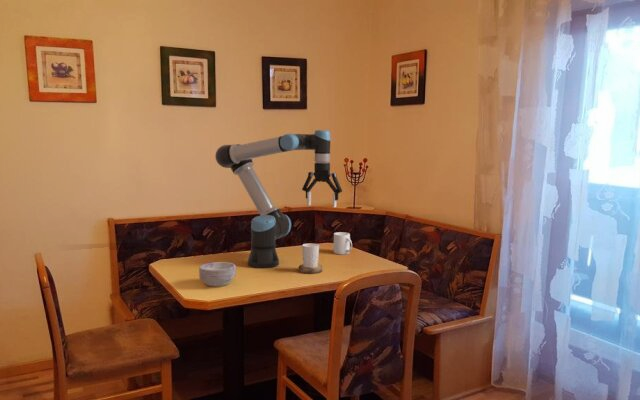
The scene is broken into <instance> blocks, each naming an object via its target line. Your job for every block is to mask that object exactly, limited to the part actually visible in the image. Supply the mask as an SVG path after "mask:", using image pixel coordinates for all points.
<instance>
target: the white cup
mask: <svg viewBox="0 0 640 400" xmlns="http://www.w3.org/2000/svg"><path fill="white" fill-rule="evenodd" d="M301 248H302V249H301V250H302V252H301V253H302V263H303V266H304V267H307V268H314V267H317V266H318V265H319V264H318V263H319V256H320V255H319V254H320V252H319V251H320V244H318V243H303V244H302V246H301Z"/></svg>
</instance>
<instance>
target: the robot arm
mask: <svg viewBox="0 0 640 400" xmlns="http://www.w3.org/2000/svg"><path fill="white" fill-rule="evenodd" d="M331 141H332V139H331V131H330V130H327V129H326V130H325V129H322V130H320V129H319V130H318V129H317V130H316V129H315V130H314V133H312V134H311V133H310V134H309V133H308V134H305V133H286V134H283V135H281V136H280V135H279V136H274V137H270V138H268V139H266V138H265V139H263V140H262V139H261V140H257V141H252V142H248V143H244V144H243V143H242V144H240V143H239V144H235V143H233V144H224V145H221V146H219V147H218V148H217V150H216V152H215V162H216V163H217V164H218V165H219V166H220V167H222V168H225V169H231V171H232V173H233V175H236V176H238V178H239V180H240V182H241V183H242V184H243V185H242V186H244V189H245V190H246V192H247V194H248V196H249V197H250V199H251V201H252V202H253V205H254V206H255V207H256V209H257V212H258V213H259V215H257V216H254V218H252V219H251V222H250V223H251V224H250V229H251V230H250V235H251V237H250V238H251V248H250V249H251V250H250V252H249V256H248V259H247V266H249V267H250V268H257V269H267V268H274V267H275V268H276V267H277V266H279V265H280V258H279V256H278V253H277V250H276V240H278V239H282V238H284V237H285V236H287V235H288V234H289V233H290V231H291V229H292V221H291V218H290V217H289V216H288V215H287V214H284V213H283V212H282V211H281V209H280V208H279V207H276V206H275V204H274V202H273V200H272V199H271V197H270V196H269V194H268V192H267V190H266V189H265V186H264V185H263V183H262V181H261V179H260V178H259V176H258V174H257V173H256V171H255V169H254V165H255V164H254V161H253V159H256V158H262V157H266V156H270V155H271V156H272V155H275V154H280V153H286V152H287V153H288V152H292V151H305V150H307V151H311V150H312V151H314V159H313V160H314V162H315V163H314V164H313V165H314V169H313V170H314V172H313V171H309V172H307V174H308V175H307V178H306V180H305V182H304V184H303V187H302V188H301V190H302V191H303V192H305V199H306V201H307V202H306V203H307V205H306V206H312V191H311V190H312V189H313V188H314V186H315V185H316V184H317V183H318V182H319V183H322V182H323V183H326V184H327V185H328V186H329V188H330V189H331V190H332V191H333V194H332V207H333V208H336V207H337V201H338V200H339V194H340V193H342V192H343V189H342V187H341V185H340V182H339V180H338V178H337V173H336V172H332V173H331V163H330V162H331ZM313 177H314V179H312V178H313ZM330 177H331V178H332V180H333V182H332V180H331V179H330ZM311 180H312V182H311Z"/></svg>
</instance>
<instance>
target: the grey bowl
mask: <svg viewBox="0 0 640 400" xmlns="http://www.w3.org/2000/svg"><path fill="white" fill-rule="evenodd" d="M198 270H199V271H198V276H199V279H200V280H202V281H203V282H204V284H205V285H206V286H208V287H209V286H210V287H224V285H225V286H228V285H229V284H230V283H231V281H232V279H234V278H236V275H237V271H236V270H237V269H236V264H235V263H232V262H229V261H217V262H215V261H214V262H207V263H204V264H201V265H200V266H199V267H198Z"/></svg>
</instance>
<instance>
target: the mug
mask: <svg viewBox="0 0 640 400" xmlns="http://www.w3.org/2000/svg"><path fill="white" fill-rule="evenodd" d="M352 242H353V241H352V240H351V233H349V232H344V231H343V232H341V231H339V232H337V231H336V232H334V233H333V254H334V255H338V254H339V255H340V256H344V255H345V256H346V255H349V254H350V252H351V251H352V249H353V243H352Z"/></svg>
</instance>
